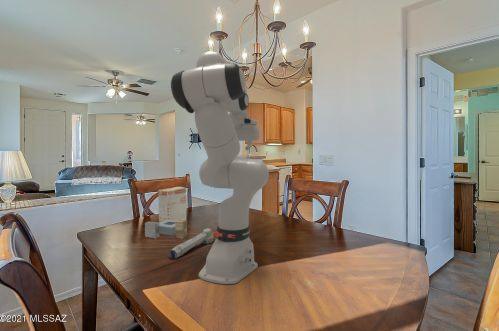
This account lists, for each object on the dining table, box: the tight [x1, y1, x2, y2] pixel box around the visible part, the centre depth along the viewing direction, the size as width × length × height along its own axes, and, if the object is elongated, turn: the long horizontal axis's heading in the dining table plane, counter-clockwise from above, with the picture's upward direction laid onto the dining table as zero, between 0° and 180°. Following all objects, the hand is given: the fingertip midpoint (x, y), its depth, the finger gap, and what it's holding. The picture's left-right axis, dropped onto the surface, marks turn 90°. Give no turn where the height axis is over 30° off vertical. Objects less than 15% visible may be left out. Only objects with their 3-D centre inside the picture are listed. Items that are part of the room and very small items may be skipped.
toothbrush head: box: [168, 227, 215, 260], centre depth 114 cm, size 5×7×25 cm
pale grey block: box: [144, 221, 161, 239], centre depth 129 cm, size 3×6×7 cm, turn 70°
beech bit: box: [175, 219, 188, 239], centre depth 130 cm, size 4×4×8 cm
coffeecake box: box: [157, 186, 187, 223], centre depth 157 cm, size 15×7×20 cm, turn 144°
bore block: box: [159, 219, 177, 237], centre depth 139 cm, size 12×12×4 cm
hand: (238, 150), depth 128 cm, fingers open, 8 cm apart
